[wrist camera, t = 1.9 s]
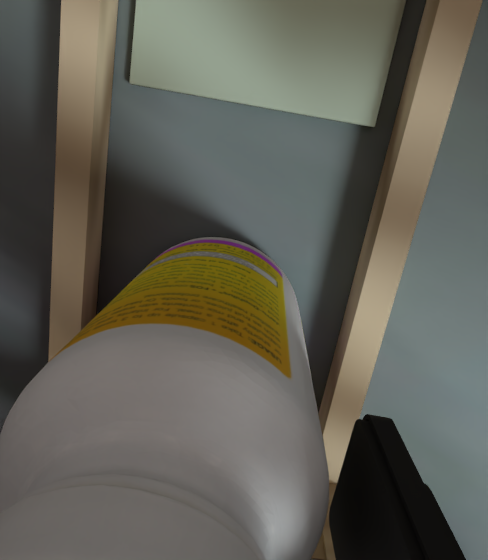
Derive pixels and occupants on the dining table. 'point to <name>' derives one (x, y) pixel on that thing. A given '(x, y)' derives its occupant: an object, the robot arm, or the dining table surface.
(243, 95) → the frame
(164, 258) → the supplement bottle
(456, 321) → the dining table surface
